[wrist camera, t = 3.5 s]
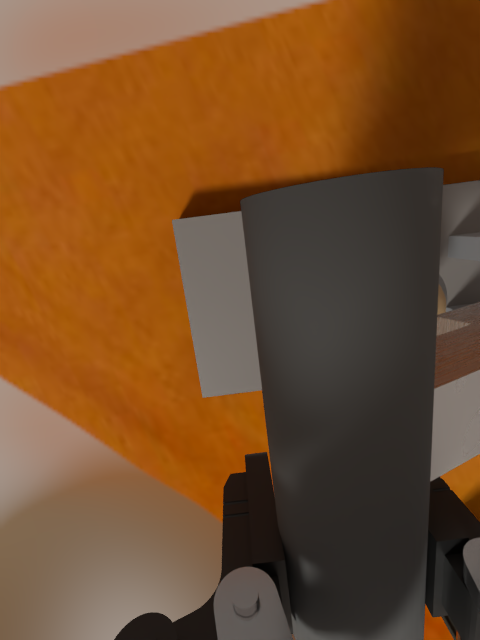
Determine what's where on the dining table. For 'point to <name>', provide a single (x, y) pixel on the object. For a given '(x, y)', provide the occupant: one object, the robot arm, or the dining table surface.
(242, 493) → the robot arm
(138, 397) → the dining table surface
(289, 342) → the lever
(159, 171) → the dining table surface
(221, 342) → the base
